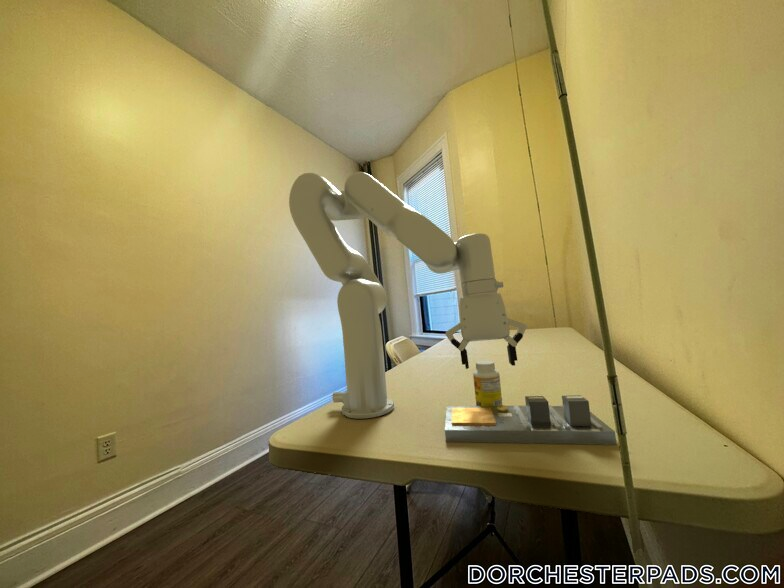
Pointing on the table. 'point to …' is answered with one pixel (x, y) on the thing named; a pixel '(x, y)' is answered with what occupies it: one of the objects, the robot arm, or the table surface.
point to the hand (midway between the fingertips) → (489, 365)
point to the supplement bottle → (487, 384)
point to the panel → (522, 425)
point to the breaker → (576, 410)
